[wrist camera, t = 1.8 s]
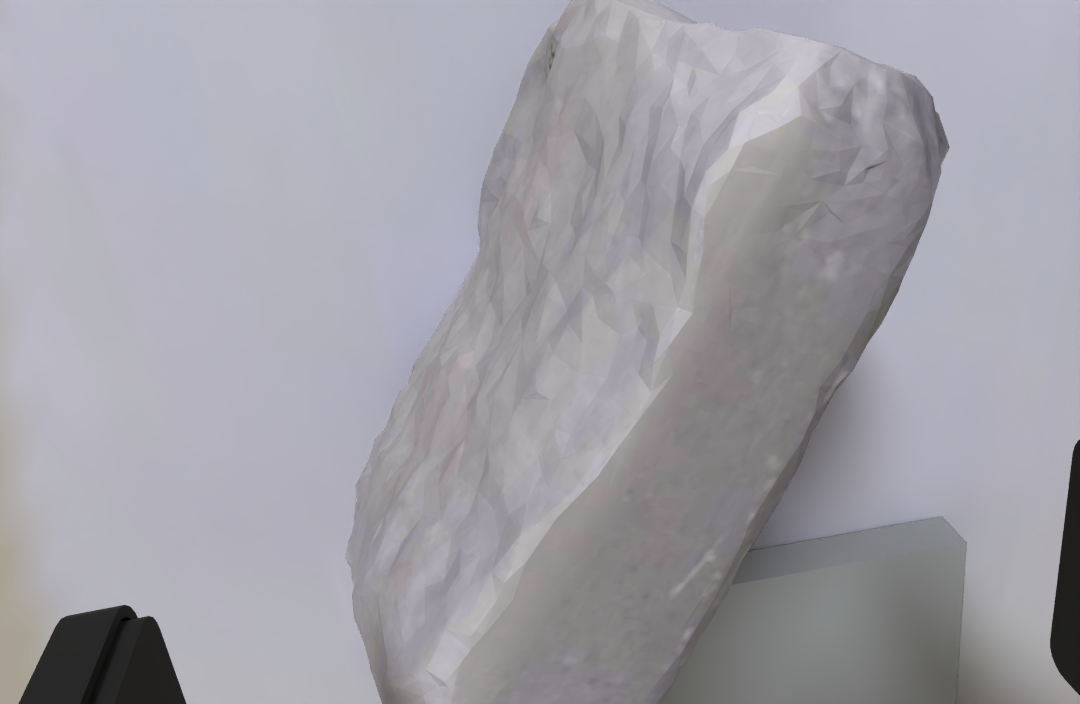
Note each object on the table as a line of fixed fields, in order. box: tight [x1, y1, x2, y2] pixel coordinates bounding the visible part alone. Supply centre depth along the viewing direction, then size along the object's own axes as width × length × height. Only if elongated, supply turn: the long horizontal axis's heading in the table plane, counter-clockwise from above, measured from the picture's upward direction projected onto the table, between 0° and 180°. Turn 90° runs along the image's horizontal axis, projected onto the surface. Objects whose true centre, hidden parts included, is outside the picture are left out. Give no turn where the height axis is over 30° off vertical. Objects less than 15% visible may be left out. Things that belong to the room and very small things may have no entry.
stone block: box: [345, 0, 950, 704], centre depth 16 cm, size 12×5×10 cm, turn 155°
